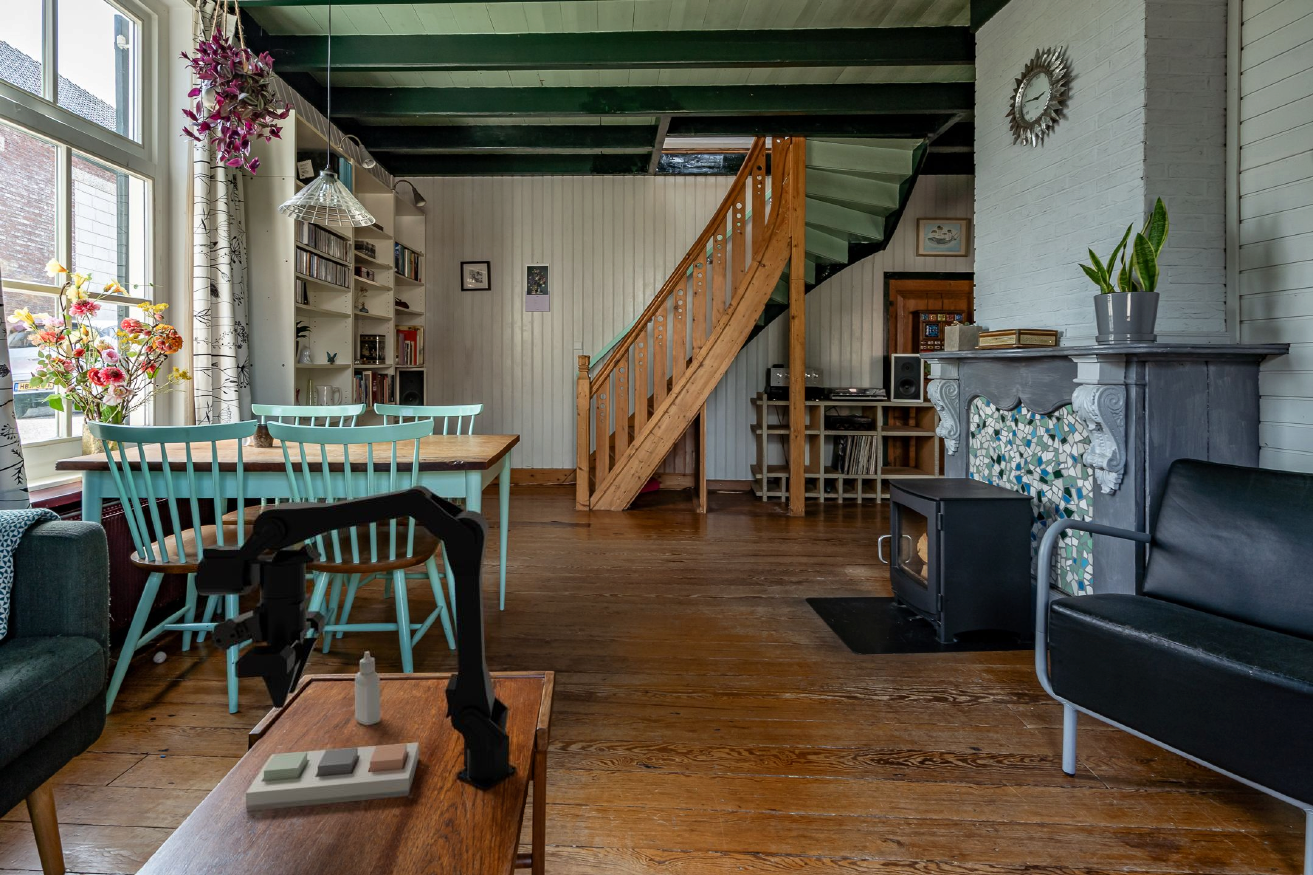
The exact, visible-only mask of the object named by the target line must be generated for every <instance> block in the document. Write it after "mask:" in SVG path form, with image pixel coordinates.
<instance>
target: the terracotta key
mask: <svg viewBox="0 0 1313 875" xmlns="http://www.w3.org/2000/svg"><path fill="white" fill-rule="evenodd" d="M383 745H384V744H383ZM375 746H376V748H375V750H374V753H373V755H372V758H371V760H370V772H378V771H389V770H400V769H403V768H404V764H405V761H406V758H407V744H406V743H397V744H396V745H393V744H385V745H384V746H381V745H375Z"/></svg>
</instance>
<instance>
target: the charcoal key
mask: <svg viewBox="0 0 1313 875" xmlns="http://www.w3.org/2000/svg"><path fill="white" fill-rule="evenodd" d="M333 749H334V750H332V749H325V750H326V751H325V753H324V755H323V757H322V759H321V761H320V763H319V764H318V777H321V776H332V775H343V774H352V773H353V771H354V768H355V766H356V764H357V761H358V748H356V747H347V748H346V749H344V748H333Z"/></svg>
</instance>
